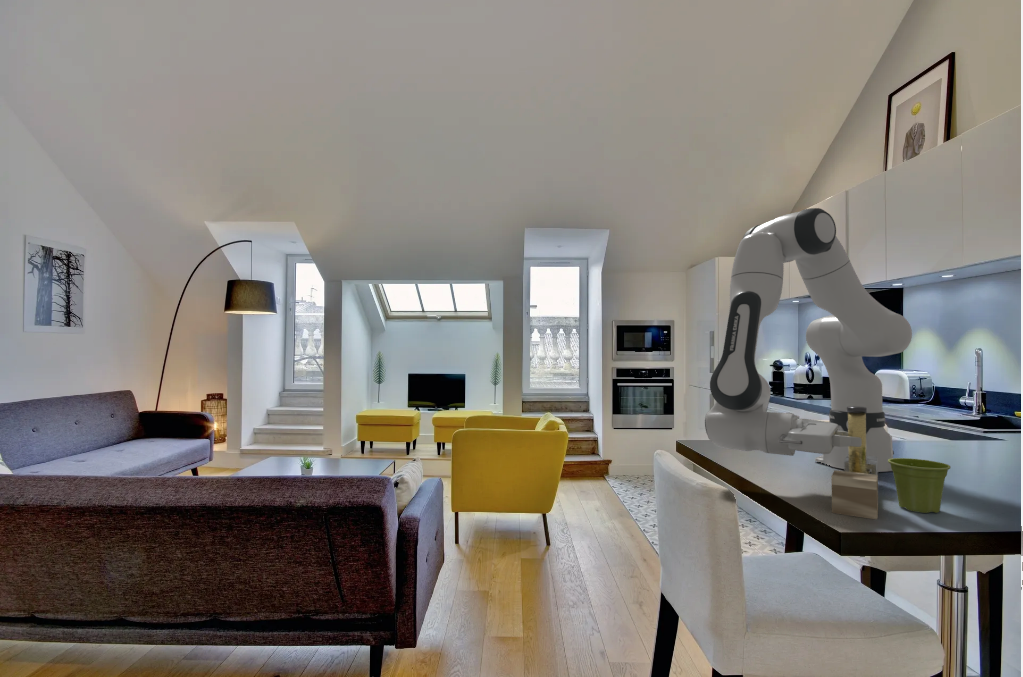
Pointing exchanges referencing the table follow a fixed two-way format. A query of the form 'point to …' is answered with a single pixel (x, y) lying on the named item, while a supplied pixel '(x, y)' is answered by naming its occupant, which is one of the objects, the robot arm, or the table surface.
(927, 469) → the plant pot
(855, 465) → the slip tube
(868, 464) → the sleeve
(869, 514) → the socket block
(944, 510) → the table surface
